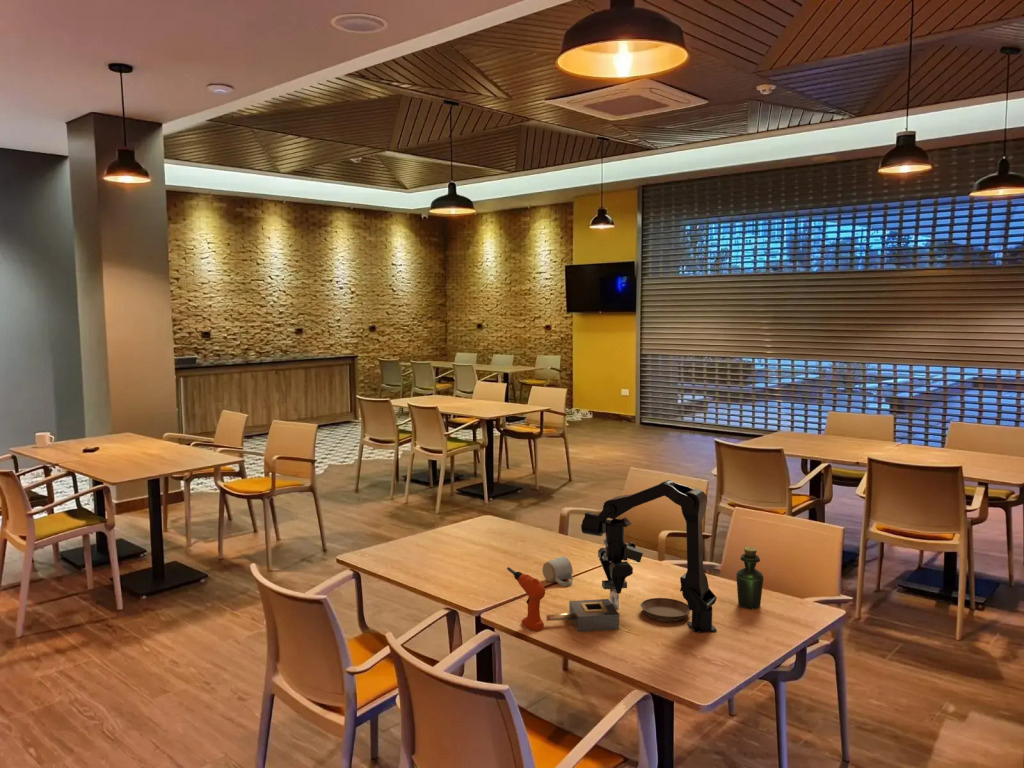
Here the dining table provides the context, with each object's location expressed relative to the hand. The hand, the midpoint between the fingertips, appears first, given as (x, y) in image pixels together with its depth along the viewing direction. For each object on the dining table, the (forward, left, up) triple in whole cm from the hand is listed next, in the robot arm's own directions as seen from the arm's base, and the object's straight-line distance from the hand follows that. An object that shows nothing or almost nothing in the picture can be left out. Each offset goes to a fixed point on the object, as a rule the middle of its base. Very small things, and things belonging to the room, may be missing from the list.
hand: (614, 588), depth 227 cm
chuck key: (0, 0, -6) cm, 6 cm away
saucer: (-7, -14, -7) cm, 17 cm away
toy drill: (-6, +29, -6) cm, 30 cm away
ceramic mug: (+26, +12, -7) cm, 29 cm away
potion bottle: (-4, -42, -6) cm, 43 cm away
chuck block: (-10, +13, -6) cm, 18 cm away
